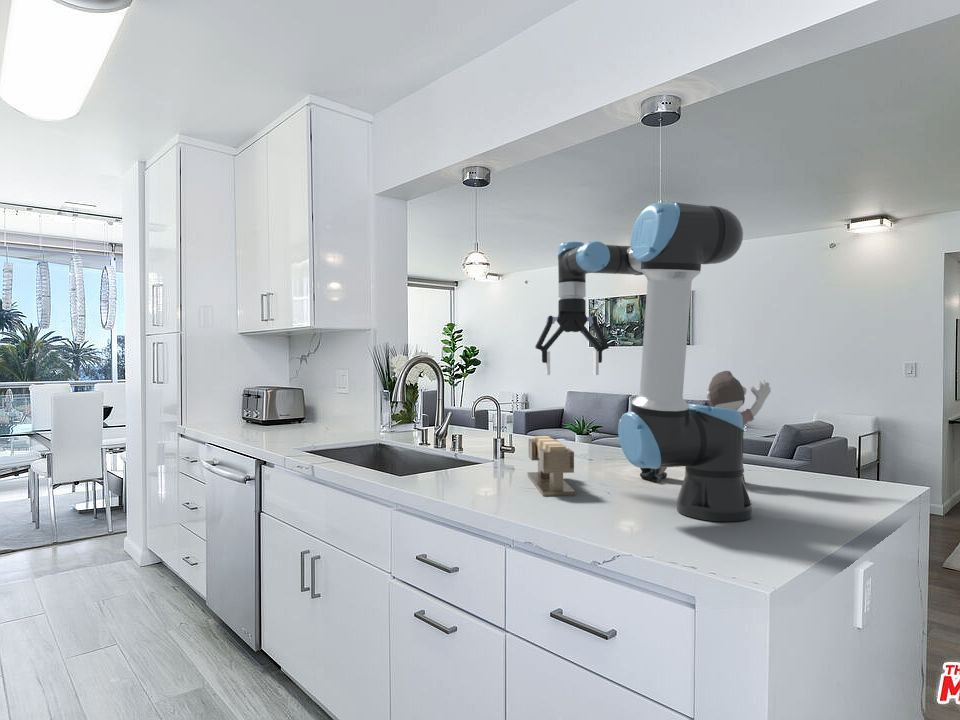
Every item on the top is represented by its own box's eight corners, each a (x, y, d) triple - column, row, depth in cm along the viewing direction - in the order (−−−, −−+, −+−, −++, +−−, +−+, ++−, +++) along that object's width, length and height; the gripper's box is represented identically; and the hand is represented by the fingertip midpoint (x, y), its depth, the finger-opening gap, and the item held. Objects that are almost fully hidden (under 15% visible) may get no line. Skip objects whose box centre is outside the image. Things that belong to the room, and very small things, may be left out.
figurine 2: (764, 479, 166) (764, 370, 166) (777, 487, 157) (777, 371, 157) (695, 478, 168) (695, 370, 168) (704, 485, 159) (704, 371, 159)
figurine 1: (667, 484, 160) (667, 427, 160) (630, 480, 166) (630, 425, 166) (676, 478, 169) (676, 424, 168) (641, 474, 174) (641, 422, 174)
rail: (565, 466, 151) (565, 446, 151) (550, 467, 150) (550, 446, 150) (548, 453, 171) (548, 436, 171) (534, 454, 170) (534, 436, 170)
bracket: (575, 495, 148) (575, 452, 148) (542, 496, 147) (542, 452, 147) (555, 475, 173) (555, 438, 173) (527, 475, 172) (527, 438, 172)
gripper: (612, 300, 174) (611, 374, 174) (525, 299, 172) (525, 374, 172) (619, 297, 166) (619, 375, 167) (529, 297, 165) (529, 375, 165)
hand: (571, 374), depth 169 cm, fingers open, 13 cm apart
